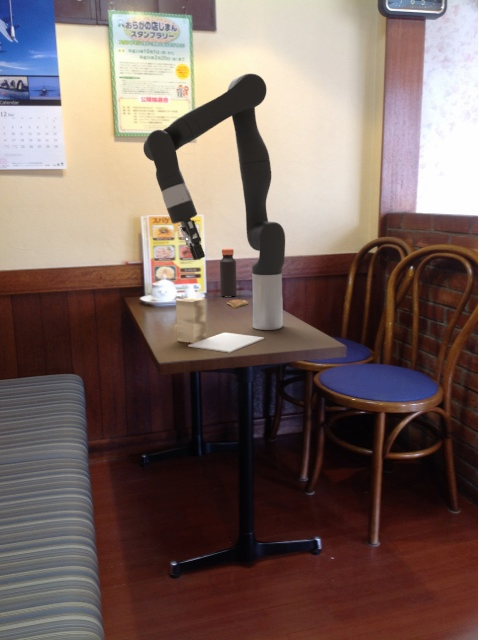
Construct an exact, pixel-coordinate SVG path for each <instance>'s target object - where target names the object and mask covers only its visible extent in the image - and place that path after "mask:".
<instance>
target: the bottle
mask: <svg viewBox="0 0 479 640" xmlns="http://www.w3.org/2000/svg"><path fill="white" fill-rule="evenodd" d="M221 256H222V258H221V260H220V261H219V275H220V280H219V281H220V296H221V297H222V296H235V297H237V296H238V295H237V294H238V293H237V261H236V259H235V258H234V248H222V249H221Z"/></svg>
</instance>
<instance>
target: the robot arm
mask: <svg viewBox="0 0 479 640" xmlns="http://www.w3.org/2000/svg"><path fill="white" fill-rule="evenodd" d="M267 89H268V88H267V84H266V82H265V81H264V79H263V78H262V76H260V75H259V74H256V73H245V74H243V75H240V76H238V77H236V78H234V79H232V80H231V81H230V82H229V85H228V87H227V90H226V91H225V92H224V93H222V94H220V95H218V96H217V97H215V98H214V99H212V100H210V101H207V102H205V103H203V104H202V105H199V106H197V107H195V108H193V109H192V110H190V111H187V112H186V113H184V114H183V115H181V116H180V117H177V118H176V119H175V120H173V121H172V122H171V123H170V125H168V126H167V127H166V128H164V129H155V130H153V131H152V132H151V133H149V135H148V136H147V138H146V139H145V140H144V143H143V153H144V155H145V157H146V158H147V159H148V160H150V161H153V164H154V166H155V170H156V171H155V178H156V181H157V184H158V186H159V188H160V189H159V190H160V192H161V195H162V200H163V202H164V206H165V208H166V210H167V214H168V216H169V219H170V222H171V224H174V225H175V224H178V223H180V232H181V235H182V236H183V239H184V242H185V245H186V247H187V248H188V249H189V252H190V253H191V256H192V259H193V260H194V261H196V260H200V259H203V258H205V257H206V255H205V252H204V248H203V246H202V237H201V236H200V233H199V231H198V228H197V225H196V221H195V220H194V219H192V218H195V217H197V216H198V212H197V209H196V207H195V204H194V201H193V198H192V196H191V193H190V191H189V188H188V186H187V185H186V181H185V180H184V176H183V174H182V173H183V172H182V171H181V169H180V165H179V160H178V155H177V151H178V150H179V149H180V148H182V147H183V146H185V145H188V144H189V143H191V142H192V141H194V140H195V139H197V138H199V137H201V136H202V135H204V134H205V133H207V132H209V130H211V129H213V128H214V127H216V126H217V125H219V124H220V123H222V122H224V121H225V120H227V119H229V118H230V117H231V118H232V124H233V128H234V133H235V134H234V135H235V141H236V150H237V155H238V156H237V157H238V164H239V172H240V177H241V184H242V191H243V198H244V204H245V205H244V206H245V224H246V229H245V230H246V238H247V242H248V245H249V246H250V247H251V248H252V249H253V250H255V251H259V254H258V260H257V262H254V263H253V264H252V268H251V272H252V276H251V277H252V279H251V280H252V328H254V329H256V330H259V331H260V330H262V331H271V330H273V331H274V330H279V329H281V328H283V324H284V319H283V317H284V316H283V315H284V314H283V313H284V311H283V307H284V306H283V301H284V300H283V298H284V296H283V287H282V286H283V284H282V283H283V281H282V280H283V277H282V275H283V266H284V264H285V259H286V258H285V254H286V235H285V234H286V233H285V230H284V228H283V226H282V225H281V224H280V223H278V222H276V221H269V219H268V214H267V213H268V212H267V200H268V199H267V198H268V194H269V191H270V187H271V183H272V167H271V166H272V165H271V159H270V154H269V151H268V148H267V145H266V143H265V142H264V139H263V138H262V134H261V133H260V130H259V128H258V124H257V117H256V107H258V106H260V105H261V104H262V103H263V102H264V100H265V98H266V96H267Z"/></svg>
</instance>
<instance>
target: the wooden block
mask: <svg viewBox="0 0 479 640" xmlns="http://www.w3.org/2000/svg"><path fill="white" fill-rule="evenodd" d="M175 308H176V332H177V333H176V334H177V335H176V336H177V341H178V342H184V343H189V342H190V344H193V343H196V342H198V341H201V340H204V339H207V316H206V315H207V314H206V309H207V308H206V298H201V297H190V296H188V297H185V298H180V299H176V300H175Z"/></svg>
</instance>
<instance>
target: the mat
mask: <svg viewBox="0 0 479 640" xmlns="http://www.w3.org/2000/svg"><path fill="white" fill-rule="evenodd" d="M264 339H265V337H263V336H255V335H248V334H247V335H246V334H240V333H233V332H222V333H219V334H216V335H214V336H211V337H206V339H204V340H201V341H198V342H196V343H190V344H188V345H187V347H190V348H196V349H201V350H209V351H216V352H222V353H228V354H230V353H233V352H235V351H238V350H240V349H243V348H245V347H247V346H250V345H252V344H255V343H257V342H259V341H262V340H264Z"/></svg>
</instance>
